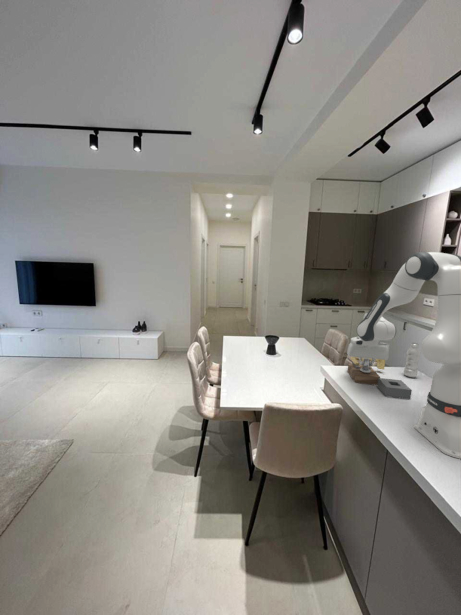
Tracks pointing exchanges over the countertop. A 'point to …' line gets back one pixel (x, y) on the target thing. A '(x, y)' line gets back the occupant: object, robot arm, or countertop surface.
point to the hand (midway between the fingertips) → (365, 365)
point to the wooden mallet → (379, 361)
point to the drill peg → (365, 366)
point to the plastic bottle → (412, 360)
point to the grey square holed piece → (394, 388)
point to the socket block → (362, 375)
